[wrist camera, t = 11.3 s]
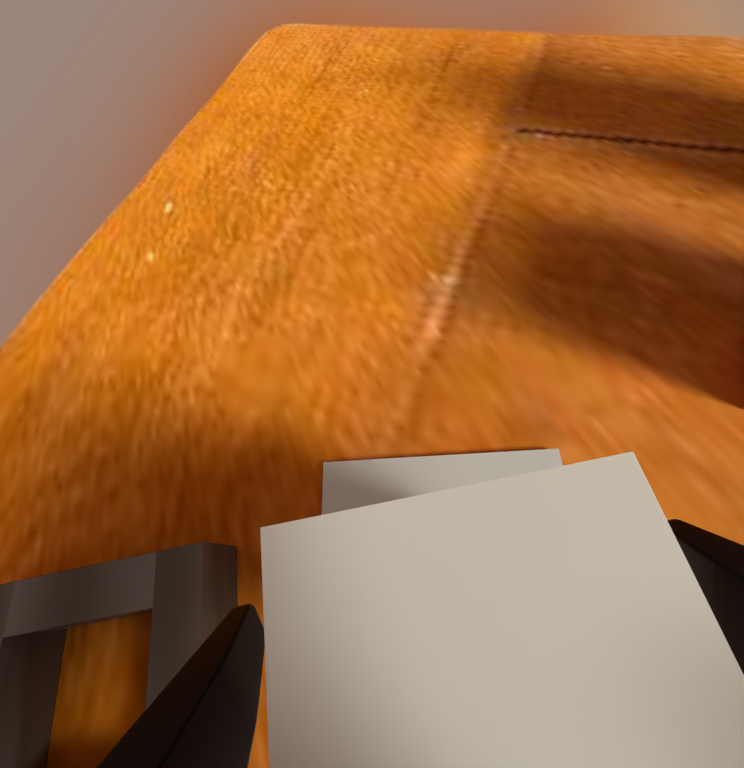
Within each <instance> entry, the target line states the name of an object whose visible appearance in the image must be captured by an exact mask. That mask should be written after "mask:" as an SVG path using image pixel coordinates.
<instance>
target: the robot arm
mask: <svg viewBox="0 0 744 768" xmlns="http://www.w3.org/2000/svg"><path fill="white" fill-rule="evenodd" d="M667 521H668V523H669V525H670V527H671V529H672V531H673V533H674V535H675V537H676V539H677V541H678V543H679V545H680V547H681V549H682V551H683V553H684V555H685V557H686V559H687V561H688V563H689V565H690V567H691V570H692V572H693V574H694V576H695V578H696V580H697V582H698V584H699V586H700V588H701V590H702V592H703V594H704V596H705V598H706V600H707V602H708V604H709V606H710V608H711V610H712V612H713V614H714V616H715V618H716V620H717V622H718V624H719V626H720V628H721V630H722V632H723V634H724V636H725V638H726V640H727V642H728V644H729V646H730V648H731V650H732V652H733V654H734V656H735V658H736V660H737V662H738V664H739V666H740V668H741V671H742V673H743V675H744V545H741V544H739V543H736V542H734V541H731V540H728V539H726V538H723V537H721V536H718V535H716V534H713V533H711V532H708V531H706V530H703V529H701V528H698V527H696V526H693V525H691V524H688V523H686V522H683V521H681V520H677V519H672V520H667ZM264 648H265V640H264V628H263V626H262V623H261V621H260V618H259V616H258V614H257V611H256V609H255V607H254V606H253V605H252V604H246V605H241V606H236V607H234V608H233V609H232V610H231V611H230V612H229V613H228V614H227V615H226V617H225V618H224V619H223V620H222V621H221V623H220V624H219V625H218V626H217V627H216V628H215V630H214V631H213V632H212V633H211V634H210V635H209V637H208V638H207V639H206V640H205V641H204V642H203V644H202V645H201V646H200V647H199V648H198V649H197V651H196V652H195V653H194V654H193V655H192V656H191V658H190V659H189V660H188V661H187V662H186V663H185V665H184V666H183V667H182V668H181V669H180V670H179V672H178V673H177V674H176V675H175V676H174V677H173V679H172V680H171V681H170V682H169V683H168V685H167V686H166V687H165V688H164V689H163V690H162V692H161V693H160V694H159V695H158V696H157V697H156V699H155V700H154V701H153V702H152V703H151V704H150V706H149V707H148V708H147V709H146V710H145V711H144V713H143V714H142V715H141V716H140V717H139V718H138V720H137V721H136V722H135V723H134V724H133V725H132V727H131V728H130V729H129V730H128V731H127V732H126V734H125V735H124V736H123V737H122V738H121V739H120V741H119V742H118V743H117V744H116V745H115V747H114V748H113V749H112V750H111V751H110V752H109V754H108V755H107V756H106V757H105V758H104V759H103V761H102V762H101V763H100V764H99V765H98V766H97V768H248V763H249V758H250V753H251V747H252V742H253V737H254V732H255V726H256V721H257V713H258V705H259V695H260V686H261V676H262V667H263V657H264Z"/></svg>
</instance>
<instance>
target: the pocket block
mask: <svg viewBox="0 0 744 768" xmlns="http://www.w3.org/2000/svg"><path fill="white" fill-rule="evenodd" d="M236 606H237V553H236V546H229V545H221V544H214V543H207V542H200V543H196V544H191V545H186V546H181V547H177V548H172V549H167V550H162V551H158V552H153V553H148V554H143V555H139V556H134V557H129V558H124V559H119V560H115V561H110V562H105V563H100V564H96V565H91V566H86V567H81V568H77V569H72V570H67V571H62V572H58V573H53V574H48V575H43V576H38V577H34V578H29V579H24V580H19V581H15V582H10V583H5V584H0V768H45V765H46V759H47V752H48V746H49V739H50V733H51V727H52V720H53V714H54V707H55V701H56V694H57V688H58V681H59V675H60V669H61V662H62V656H63V649H64V643H65V636H66V630H67V628H70V627H75V626H80V625H85V624H90V623H95V622H100V621H105V620H110V619H115V618H120V617H125V616H130V615H134V614H139V613H144V612H149V611H152V622H151V636H150V650H149V664H148V679H147V693H146V707H145V710H146V709H147V708H148V707H149V706H150V704H151V703H152V702H153V701H154V700H155V699H156V697H157V696H158V695H159V694H160V693H161V692H162V690H163V689H164V688H165V687H166V686H167V685H168V683H169V682H170V681H171V680H172V679H173V677H174V676H175V675H176V674H177V673H178V672H179V670H180V669H181V668H182V667H183V666H184V665H185V663H186V662H187V661H188V660H189V659H190V658H191V656H192V655H193V654H194V653H195V652H196V651H197V649H198V648H199V647H200V646H201V645H202V644H203V642H204V641H205V640H206V639H207V638H208V637H209V635H210V634H211V633H212V632H213V631H214V630H215V628H216V627H217V626H218V625H219V624H220V623H221V621H222V620H223V619H224V618H225V617H226V615H227V614H228V613H229V612H230V611H231V610H232V609H233V608H234V607H236Z"/></svg>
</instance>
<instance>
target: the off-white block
mask: <svg viewBox="0 0 744 768" xmlns="http://www.w3.org/2000/svg"><path fill="white" fill-rule="evenodd" d="M260 534H261V561H262V587H263V614H264V640H265V667H266V693H267V720H268V746H269V768H744V675H743V673H742V671H741V668H740V666H739V664H738V662H737V660H736V658H735V656H734V654H733V652H732V650H731V648H730V646H729V644H728V642H727V640H726V638H725V636H724V634H723V632H722V630H721V628H720V626H719V624H718V622H717V620H716V618H715V616H714V614H713V612H712V610H711V608H710V606H709V604H708V602H707V600H706V598H705V596H704V594H703V592H702V590H701V588H700V586H699V584H698V582H697V580H696V578H695V576H694V574H693V572H692V570H691V567H690V565H689V563H688V561H687V559H686V557H685V555H684V553H683V551H682V549H681V547H680V545H679V543H678V541H677V539H676V537H675V535H674V533H673V531H672V529H671V527H670V525H669V523H668V521H667V519H666V517H665V515H664V513H663V511H662V509H661V507H660V505H659V503H658V501H657V499H656V497H655V495H654V493H653V491H652V489H651V487H650V485H649V483H648V481H647V479H646V477H645V475H644V473H643V471H642V468H641V466H640V464H639V462H638V460H637V458H636V456H635V454H634V452H628V453H623V454H619V455H614V456H609V457H604V458H599V459H594V460H589V461H584V462H579V463H574V464H569V465H565V466H560V467H555V468H550V469H545V470H540V471H535V472H530V473H525V474H520V475H515V476H511V477H506V478H501V479H496V480H491V481H486V482H481V483H476V484H471V485H466V486H461V487H457V488H452V489H447V490H442V491H437V492H432V493H427V494H422V495H417V496H412V497H408V498H403V499H398V500H393V501H388V502H383V503H378V504H373V505H368V506H363V507H358V508H354V509H349V510H344V511H339V512H334V513H329V514H324V515H319V516H314V517H309V518H304V519H300V520H295V521H290V522H285V523H280V524H275V525H270V526H265V527H260Z"/></svg>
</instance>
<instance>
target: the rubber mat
mask: <svg viewBox="0 0 744 768" xmlns="http://www.w3.org/2000/svg"><path fill="white" fill-rule="evenodd" d="M560 466H563V465H562V461H561V456H560V452H559V449H542V450H525V451H508V452H490V453H473V454H456V455H438V456H421V457H404V458H387V459H369V460H352V461H335V462H323V490H322V515H324V514H329V513H334V512H339V511H344V510H349V509H354V508H358V507H363V506H368V505H373V504H378V503H383V502H388V501H393V500H398V499H403V498H408V497H412V496H417V495H422V494H427V493H432V492H437V491H442V490H447V489H452V488H457V487H461V486H466V485H471V484H476V483H481V482H486V481H491V480H496V479H501V478H506V477H511V476H515V475H520V474H525V473H530V472H535V471H540V470H545V469H550V468H555V467H560Z"/></svg>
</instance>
